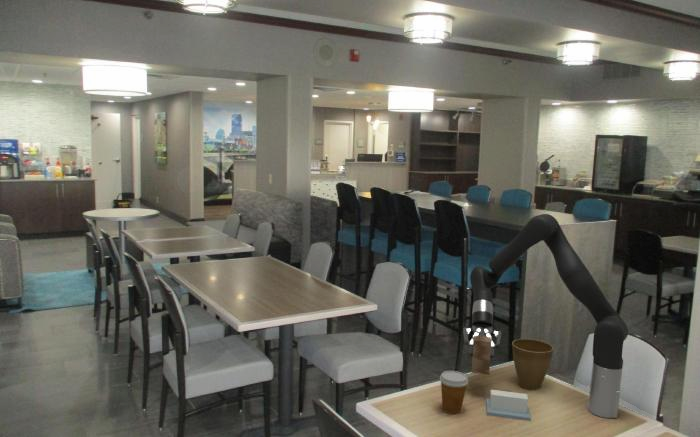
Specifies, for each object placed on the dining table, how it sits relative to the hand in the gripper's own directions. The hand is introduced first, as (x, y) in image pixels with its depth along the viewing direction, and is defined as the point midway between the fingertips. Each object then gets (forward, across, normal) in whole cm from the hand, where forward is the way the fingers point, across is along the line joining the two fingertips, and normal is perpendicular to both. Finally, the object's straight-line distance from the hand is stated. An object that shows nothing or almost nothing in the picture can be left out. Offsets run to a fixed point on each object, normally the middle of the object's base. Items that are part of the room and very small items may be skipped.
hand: (481, 356), depth 197 cm
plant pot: (-1, +19, +22) cm, 29 cm away
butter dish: (+17, +10, +5) cm, 20 cm away
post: (+3, 0, +5) cm, 6 cm away
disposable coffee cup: (+20, -9, +2) cm, 22 cm away
